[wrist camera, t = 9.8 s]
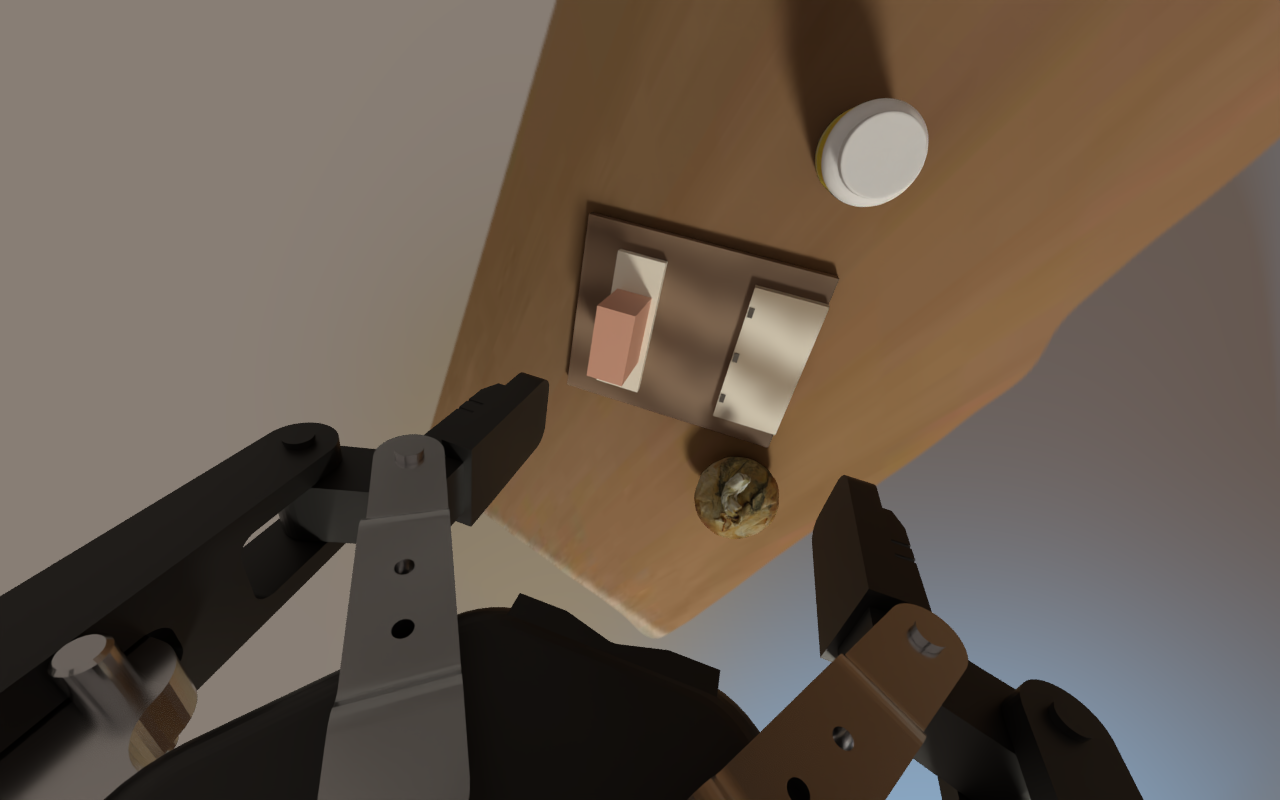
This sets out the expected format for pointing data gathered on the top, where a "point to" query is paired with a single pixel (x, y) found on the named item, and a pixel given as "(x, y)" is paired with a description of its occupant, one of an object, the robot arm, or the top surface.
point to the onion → (736, 497)
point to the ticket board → (707, 329)
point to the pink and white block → (626, 321)
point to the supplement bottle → (872, 152)
